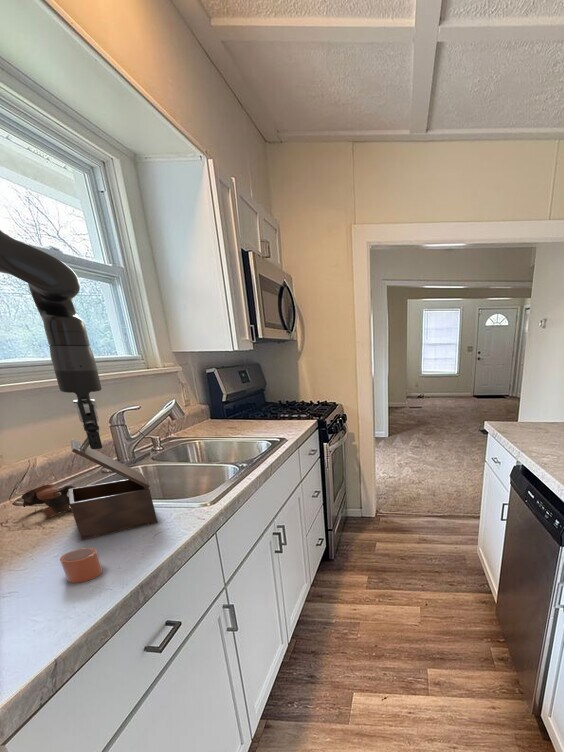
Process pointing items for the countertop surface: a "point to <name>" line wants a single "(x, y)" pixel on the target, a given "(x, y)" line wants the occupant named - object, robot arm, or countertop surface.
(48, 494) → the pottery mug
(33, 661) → the countertop surface
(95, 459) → the lid
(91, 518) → the chest
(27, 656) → the countertop surface
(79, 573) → the small terracotta bowl
